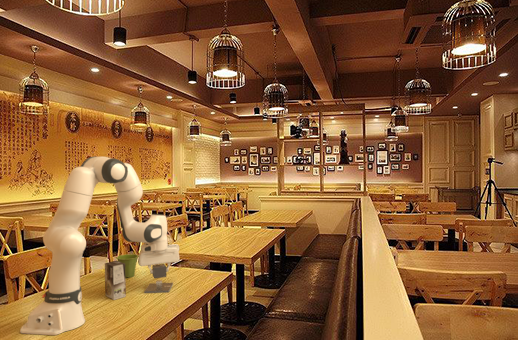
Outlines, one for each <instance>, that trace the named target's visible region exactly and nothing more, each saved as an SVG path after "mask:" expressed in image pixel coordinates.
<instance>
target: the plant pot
mask: <svg viewBox="0 0 520 340" xmlns="http://www.w3.org/2000/svg"><path fill="white" fill-rule="evenodd" d="M138 258H139V254H134V253H133V254H132V253H130V254H129V253H128V254H127V253H126V254H120V255H118V256H117V257H116V259H117V261H119V262H122V263H125V279H127V278H133V277H134V276H135V273H136V268H137V263H138Z"/></svg>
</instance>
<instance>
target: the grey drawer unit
mask: <svg viewBox="0 0 520 340" xmlns="http://www.w3.org/2000/svg"><path fill="white" fill-rule="evenodd" d="M151 267H152V268H151V269H153V270H154V273H153V274H152V277H153V279H161V278H167V272H166V268H167V266H166V263H164V264H156V265H151Z"/></svg>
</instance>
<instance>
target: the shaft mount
mask: <svg viewBox="0 0 520 340" xmlns="http://www.w3.org/2000/svg"><path fill="white" fill-rule="evenodd" d="M173 285H174V282H163V280H162V279H156V282H151V283H149V284H148V285H147V287H146V288H145V289H144V292H143V293H144V294H156V293H157V294H158V293H165V294H166V293H170V291H171V289H172V288H173Z"/></svg>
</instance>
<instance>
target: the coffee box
mask: <svg viewBox="0 0 520 340" xmlns="http://www.w3.org/2000/svg"><path fill="white" fill-rule="evenodd" d="M126 279H127V278H125V263H122V262H119V261H118V260H114V261H109V262H105V263H104V282H105V283H104V287H105V288H104V289H105V291H104V292H105V293H104V294H105V297H107V298H109V299H111V300H113V301H115V300H118V299H123V298H126V296H127V292H126V288H127V287H126V283H127V282H126V281H127V280H126Z"/></svg>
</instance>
